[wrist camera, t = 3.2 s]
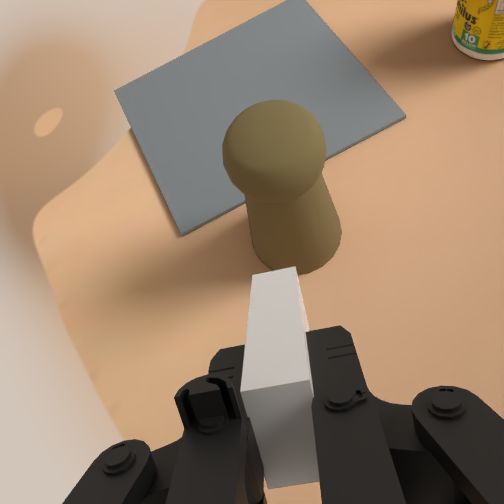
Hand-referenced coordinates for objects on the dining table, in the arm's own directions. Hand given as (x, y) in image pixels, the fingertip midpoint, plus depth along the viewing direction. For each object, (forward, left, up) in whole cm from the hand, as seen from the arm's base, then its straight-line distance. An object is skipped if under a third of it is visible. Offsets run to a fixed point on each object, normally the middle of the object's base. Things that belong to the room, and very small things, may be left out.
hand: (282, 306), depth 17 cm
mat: (-5, -21, -13) cm, 25 cm away
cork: (-3, -9, -13) cm, 16 cm away
